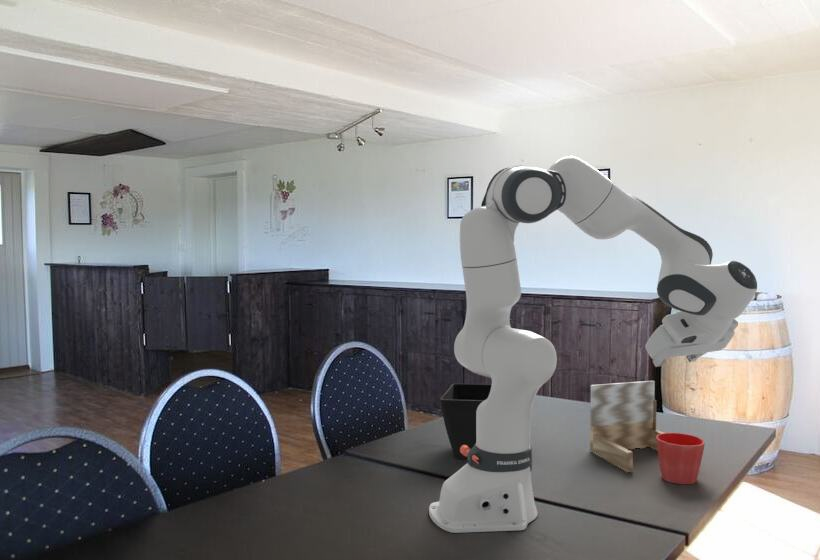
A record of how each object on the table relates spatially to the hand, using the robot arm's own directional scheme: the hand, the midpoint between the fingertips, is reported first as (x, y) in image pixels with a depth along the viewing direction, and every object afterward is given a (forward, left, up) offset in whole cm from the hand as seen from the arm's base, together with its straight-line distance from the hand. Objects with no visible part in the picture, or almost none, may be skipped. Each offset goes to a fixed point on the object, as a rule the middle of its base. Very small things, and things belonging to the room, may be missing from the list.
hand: (673, 361), depth 157 cm
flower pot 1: (-34, +34, -29) cm, 56 cm away
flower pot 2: (+4, +3, -29) cm, 29 cm away
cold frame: (+4, +18, -29) cm, 34 cm away
